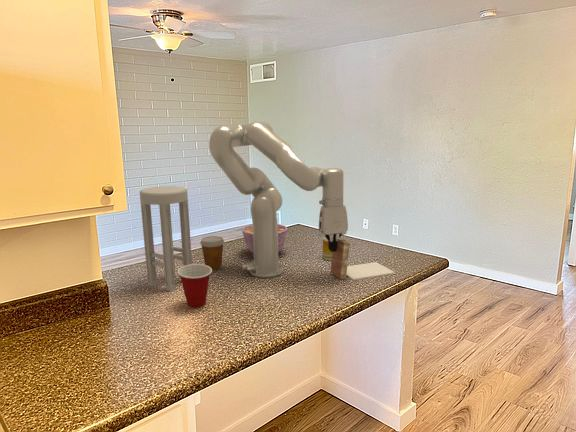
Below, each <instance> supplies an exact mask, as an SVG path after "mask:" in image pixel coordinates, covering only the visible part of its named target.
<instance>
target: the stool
mask: <svg viewBox="0 0 576 432" xmlns="http://www.w3.org/2000/svg"><path fill="white" fill-rule="evenodd" d="M139 198H140V201H139V202H140V210H141V211H140V212H141V221H142V231H143V233H142V234H143V242H144V243H143V245H144V255H145V266H146V277H147V278H146V279H147V286H148V287H151V288H152V287H156V286H157V285H158V279H157V278H158V276H157V268H156V267H160V268H163V269H164V281H165V290H166V291H167V292H172V291H175V290H176V283H175V282H176V281H175V280H176V279H175V277H176V268H175V267H176V266H175V259H176V260H180V261H182V267H183V266H185V265H190V264H193V258H192V257H193V256H192V243H191V242H192V241H191V227H190V225H191V224H190V215H189V213H190V212H189V211H190V210H189V199H188V188H186V187H184V186H175V185H173V186H172V185H169V186H168V185H164V186H163V185H162V186H151V187H148V188H144V189H141V190H140V191H139ZM172 204H173V205H174V204H178V207H179V208H178V210H179V211H178V212H179V224H180V237H181V247H178V246H174V242H173V241H174V239H173V228H172V227H173V226H172V214H171V205H172ZM153 205H155V206H156V205H158V207H159V209H158V210H159V219H160V231H161V233H160V235H161V242H162V243H161V244H162V254H161V253H156V252H155V244H154V243H155V242H154V241H155V240H154V233H153V222H152V221H153V220H152V218H153V217H152V208H151V206H153ZM174 252H178V253H182V255H178V254H174ZM156 258H157V259H161V260H163V262H161V261H156Z"/></svg>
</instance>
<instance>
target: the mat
mask: <svg viewBox="0 0 576 432" xmlns="http://www.w3.org/2000/svg"><path fill="white" fill-rule="evenodd" d="M395 273H396V272H395V271H393V270H391V269H390V268H388V267H386V266H384V265H382V264H380V263H378V262H377V261H374V262H368V263H361V264H354V265H347V274H346V277H348V278H349V279H350V280H352V281H358V280H359V281H360V280H364V279H371V278H377V277H378V278H379V277H383V276H389V275H395Z"/></svg>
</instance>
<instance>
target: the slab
mask: <svg viewBox="0 0 576 432" xmlns="http://www.w3.org/2000/svg"><path fill="white" fill-rule="evenodd" d="M350 244H351V243H350V242H349V241H348V240H346V239H343V238H342V237H340V238H339V240H338V241H337V251H336V252H335V251H334V252H332V260H331V261H330V262H331V265H330V273H331V274H332V275H334V276H335V277H337V278H338V279H339V280H346V279H347V276H346V274H347V266H349V265H348V264H349V263H348V262H349V255H350V254H349V253H350Z"/></svg>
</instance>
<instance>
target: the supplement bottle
mask: <svg viewBox="0 0 576 432" xmlns="http://www.w3.org/2000/svg"><path fill="white" fill-rule="evenodd" d="M332 236H333V234H332ZM321 252H322V253H321V254H322V259H324V260H326V261H332V251H330V250H329V248H328V240H327V239H326V238H324V237H322V251H321Z"/></svg>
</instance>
